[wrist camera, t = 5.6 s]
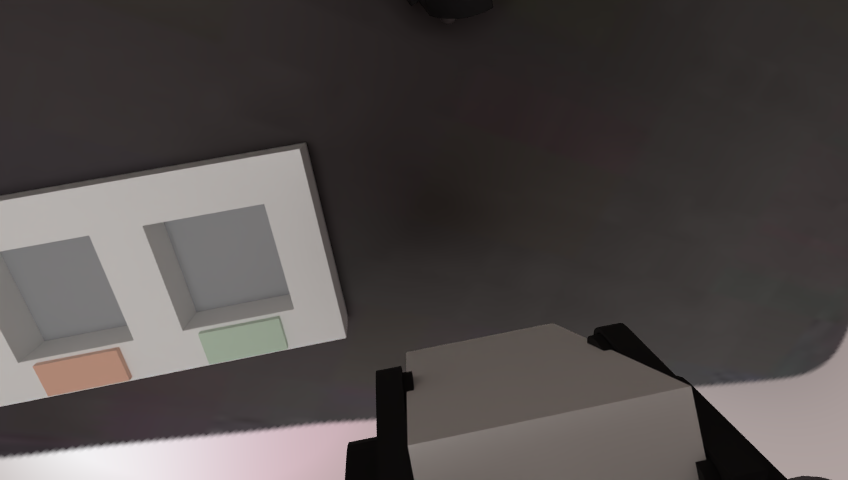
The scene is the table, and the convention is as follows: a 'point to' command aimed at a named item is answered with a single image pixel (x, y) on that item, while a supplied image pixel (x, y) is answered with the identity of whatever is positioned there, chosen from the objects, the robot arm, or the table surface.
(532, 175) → the table surface
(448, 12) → the power plug
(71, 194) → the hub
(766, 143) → the table surface
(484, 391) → the plug
